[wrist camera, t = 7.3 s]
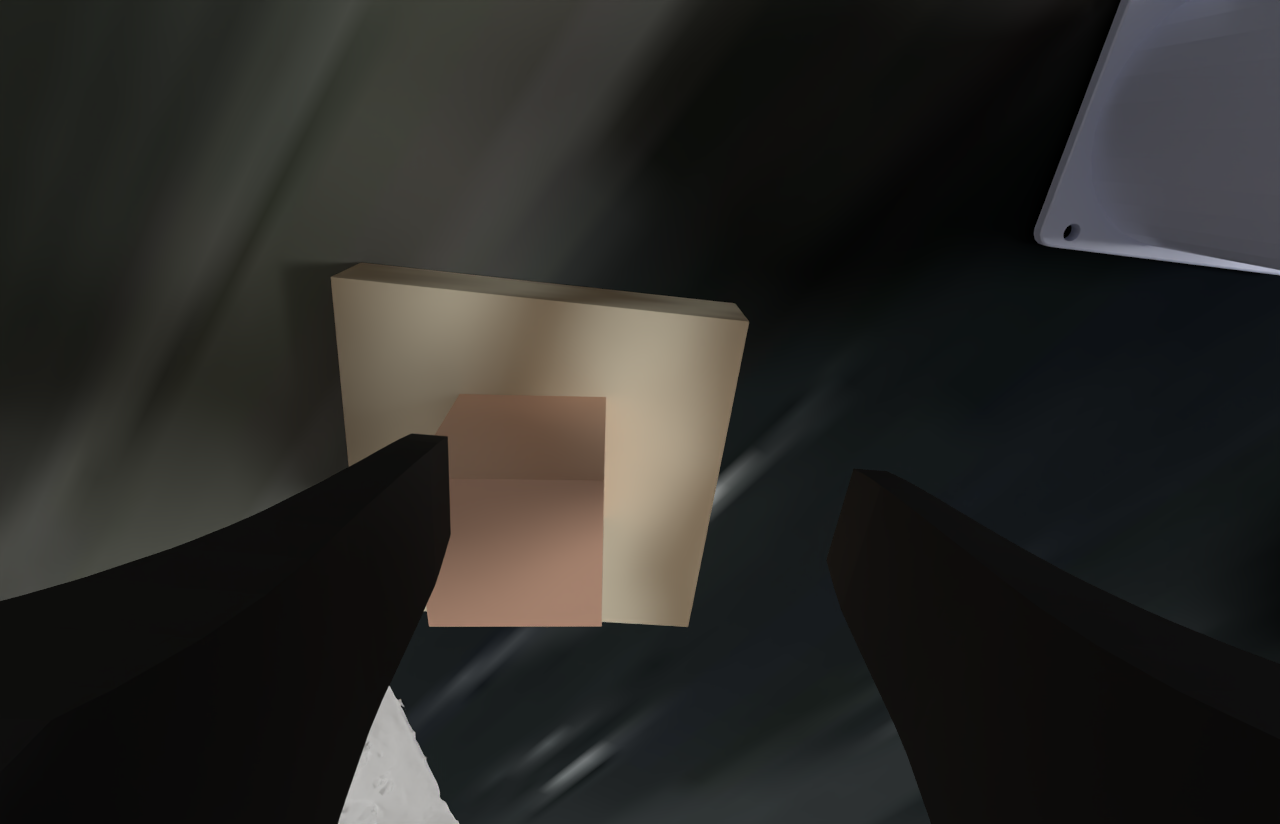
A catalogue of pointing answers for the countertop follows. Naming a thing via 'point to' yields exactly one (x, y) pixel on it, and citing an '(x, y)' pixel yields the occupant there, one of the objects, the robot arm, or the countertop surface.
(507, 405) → the block
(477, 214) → the countertop surface
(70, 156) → the countertop surface
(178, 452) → the countertop surface
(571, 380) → the base
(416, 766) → the terrain model
